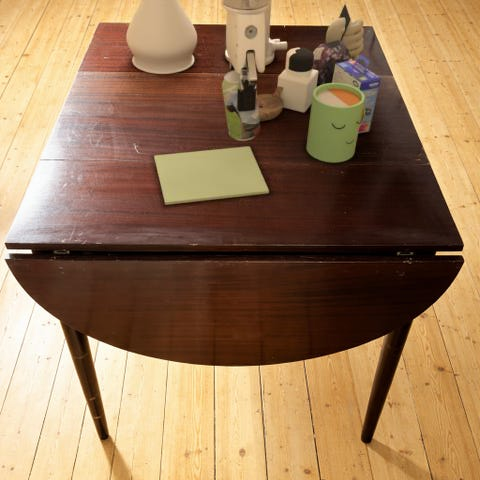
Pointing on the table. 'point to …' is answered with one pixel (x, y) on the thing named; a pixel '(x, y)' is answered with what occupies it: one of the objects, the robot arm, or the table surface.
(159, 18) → the vase
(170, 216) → the table surface
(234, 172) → the mat
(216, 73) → the table surface
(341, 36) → the decorative object
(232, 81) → the beverage can
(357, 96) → the mug
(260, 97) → the oil lamp
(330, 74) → the mineral specimen
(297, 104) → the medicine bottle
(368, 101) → the ink cartridge box
